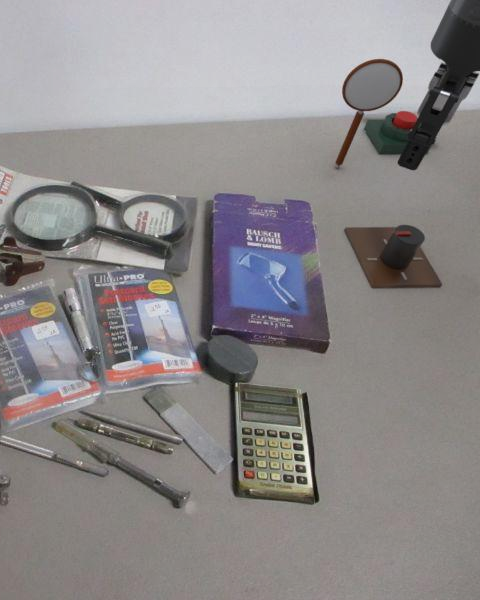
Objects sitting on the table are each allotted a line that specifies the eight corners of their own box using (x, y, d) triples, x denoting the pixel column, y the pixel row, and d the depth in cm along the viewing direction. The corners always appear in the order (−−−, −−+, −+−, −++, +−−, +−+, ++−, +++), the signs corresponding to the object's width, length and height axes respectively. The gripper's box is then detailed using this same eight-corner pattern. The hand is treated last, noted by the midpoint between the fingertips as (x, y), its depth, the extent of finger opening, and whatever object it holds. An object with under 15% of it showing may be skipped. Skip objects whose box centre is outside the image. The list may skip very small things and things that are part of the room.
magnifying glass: (312, 168, 105) (354, 59, 90) (311, 162, 106) (353, 54, 91) (362, 173, 104) (414, 65, 89) (361, 167, 105) (411, 59, 90)
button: (408, 119, 109) (412, 110, 108) (416, 130, 107) (421, 121, 105) (389, 119, 109) (393, 110, 108) (397, 130, 107) (401, 121, 105)
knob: (402, 249, 88) (419, 222, 84) (413, 269, 85) (431, 242, 81) (376, 249, 88) (391, 222, 84) (386, 269, 85) (402, 242, 81)
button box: (409, 129, 113) (418, 110, 110) (426, 154, 108) (437, 135, 105) (363, 129, 113) (371, 110, 110) (378, 154, 108) (387, 135, 105)
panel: (401, 238, 93) (409, 225, 91) (434, 296, 86) (443, 283, 83) (339, 239, 93) (345, 226, 91) (366, 297, 85) (373, 284, 83)
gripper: (520, 48, 53) (433, 192, 65) (545, -6, 60) (463, 132, 73) (432, 24, 55) (366, 167, 68) (467, -24, 63) (401, 111, 75)
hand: (416, 148), depth 70 cm, fingers open, 8 cm apart
